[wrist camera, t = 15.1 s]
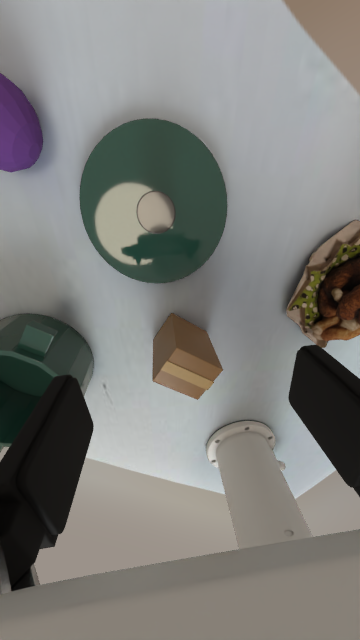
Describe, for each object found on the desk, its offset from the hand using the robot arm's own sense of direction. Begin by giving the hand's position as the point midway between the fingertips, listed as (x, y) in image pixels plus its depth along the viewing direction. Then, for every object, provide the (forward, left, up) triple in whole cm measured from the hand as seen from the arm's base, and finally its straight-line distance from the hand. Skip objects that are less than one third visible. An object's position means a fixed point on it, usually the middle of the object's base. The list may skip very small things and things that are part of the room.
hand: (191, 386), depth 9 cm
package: (-5, +6, -18) cm, 20 cm away
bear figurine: (-19, -10, -18) cm, 28 cm away
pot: (+9, +18, -18) cm, 27 cm away
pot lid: (+5, -5, -18) cm, 19 cm away
